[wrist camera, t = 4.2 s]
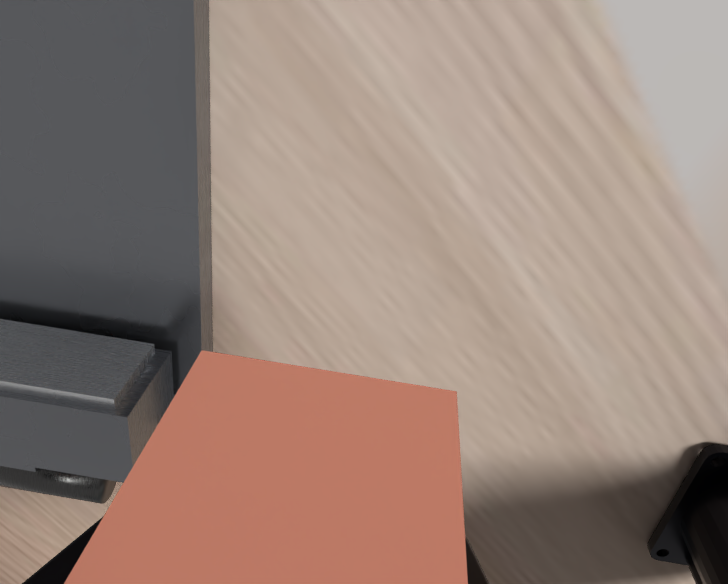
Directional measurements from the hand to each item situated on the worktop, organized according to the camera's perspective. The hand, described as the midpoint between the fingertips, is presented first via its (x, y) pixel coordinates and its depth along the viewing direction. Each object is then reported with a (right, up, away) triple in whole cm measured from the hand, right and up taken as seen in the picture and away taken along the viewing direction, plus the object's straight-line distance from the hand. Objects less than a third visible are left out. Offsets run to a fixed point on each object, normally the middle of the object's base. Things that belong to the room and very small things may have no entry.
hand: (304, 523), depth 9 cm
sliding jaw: (-11, 0, +14) cm, 18 cm away
